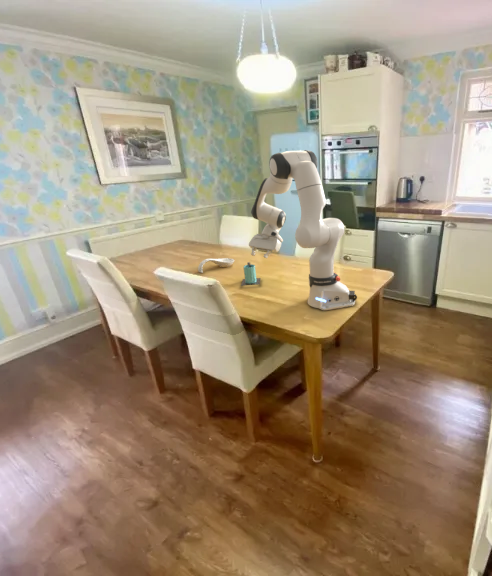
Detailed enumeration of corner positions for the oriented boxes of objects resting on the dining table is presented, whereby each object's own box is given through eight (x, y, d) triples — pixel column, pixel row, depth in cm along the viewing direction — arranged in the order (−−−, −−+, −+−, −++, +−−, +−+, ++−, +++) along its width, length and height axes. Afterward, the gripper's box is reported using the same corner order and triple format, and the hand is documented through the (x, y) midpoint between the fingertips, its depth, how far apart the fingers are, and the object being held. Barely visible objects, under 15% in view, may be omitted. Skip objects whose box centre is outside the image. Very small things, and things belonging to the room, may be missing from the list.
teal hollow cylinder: (256, 279, 179) (255, 264, 175) (256, 283, 173) (254, 267, 170) (246, 280, 178) (244, 264, 175) (245, 283, 173) (243, 268, 169)
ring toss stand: (261, 280, 181) (258, 259, 176) (260, 286, 172) (257, 264, 167) (243, 281, 180) (240, 260, 176) (241, 288, 171) (238, 266, 166)
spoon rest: (228, 261, 215) (227, 251, 212) (238, 265, 207) (237, 254, 204) (195, 271, 199) (193, 260, 197) (204, 275, 192) (202, 263, 189)
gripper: (252, 230, 183) (242, 251, 180) (279, 234, 173) (269, 256, 169) (258, 236, 189) (248, 256, 185) (285, 240, 178) (275, 261, 174)
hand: (258, 256), depth 177 cm, fingers open, 8 cm apart
